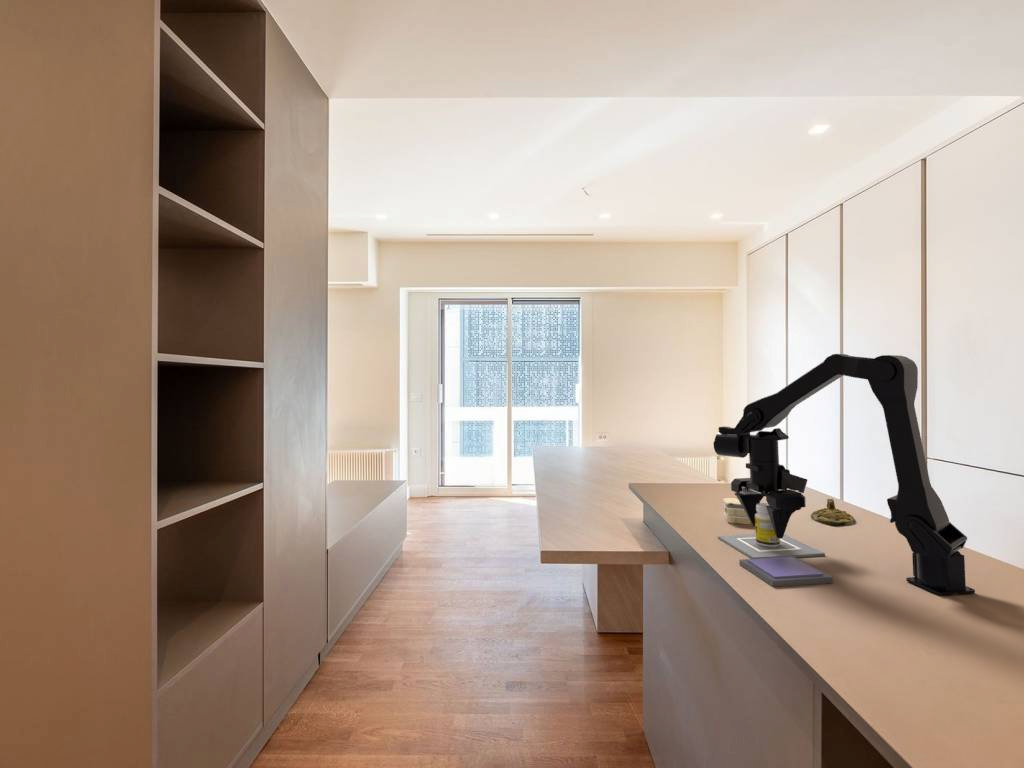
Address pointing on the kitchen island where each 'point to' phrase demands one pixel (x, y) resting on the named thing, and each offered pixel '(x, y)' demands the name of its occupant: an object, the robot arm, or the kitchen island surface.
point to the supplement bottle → (764, 527)
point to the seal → (832, 515)
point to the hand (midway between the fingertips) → (767, 531)
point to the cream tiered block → (735, 511)
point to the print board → (755, 551)
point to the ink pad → (785, 571)
